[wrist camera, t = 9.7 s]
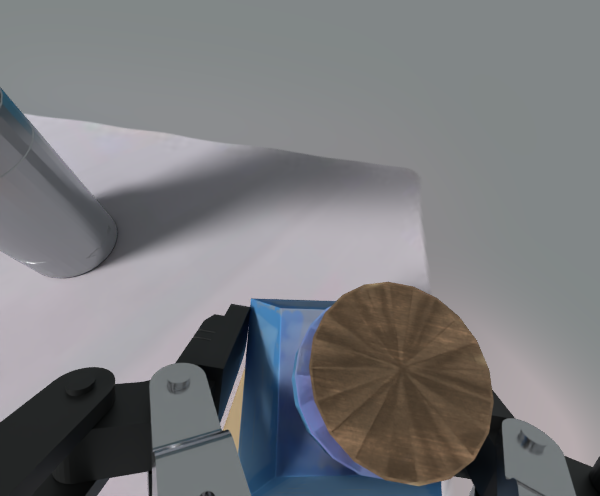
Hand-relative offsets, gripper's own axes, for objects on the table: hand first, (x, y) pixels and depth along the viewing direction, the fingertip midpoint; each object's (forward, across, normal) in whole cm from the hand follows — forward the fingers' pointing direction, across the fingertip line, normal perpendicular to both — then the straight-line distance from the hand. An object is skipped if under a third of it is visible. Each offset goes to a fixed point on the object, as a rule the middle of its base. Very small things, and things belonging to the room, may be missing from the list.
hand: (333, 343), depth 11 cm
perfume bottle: (+3, 0, +5) cm, 6 cm away
